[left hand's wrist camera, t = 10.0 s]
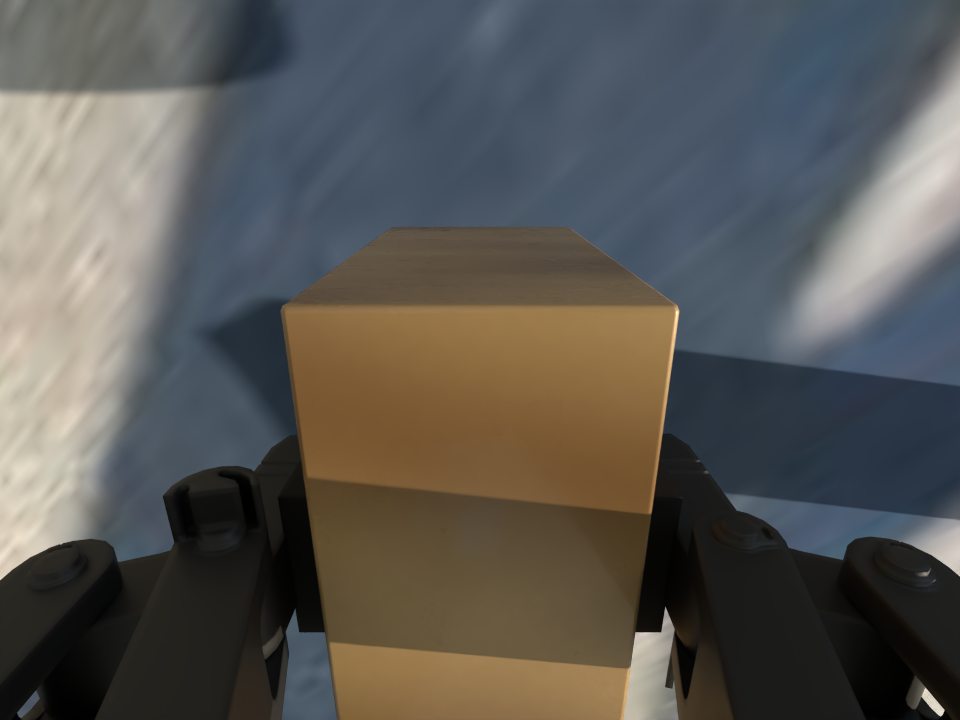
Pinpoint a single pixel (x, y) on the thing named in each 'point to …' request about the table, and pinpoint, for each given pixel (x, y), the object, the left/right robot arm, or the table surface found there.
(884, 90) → the table surface
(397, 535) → the beam
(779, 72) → the table surface
